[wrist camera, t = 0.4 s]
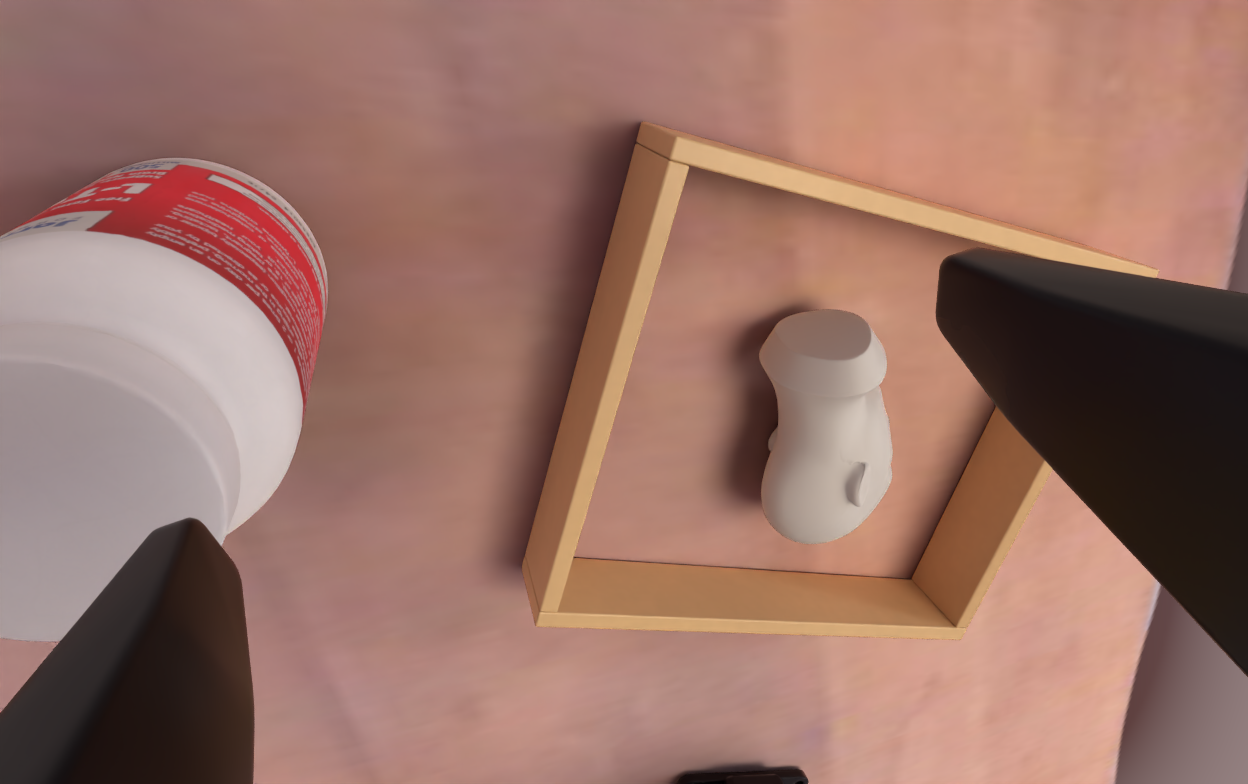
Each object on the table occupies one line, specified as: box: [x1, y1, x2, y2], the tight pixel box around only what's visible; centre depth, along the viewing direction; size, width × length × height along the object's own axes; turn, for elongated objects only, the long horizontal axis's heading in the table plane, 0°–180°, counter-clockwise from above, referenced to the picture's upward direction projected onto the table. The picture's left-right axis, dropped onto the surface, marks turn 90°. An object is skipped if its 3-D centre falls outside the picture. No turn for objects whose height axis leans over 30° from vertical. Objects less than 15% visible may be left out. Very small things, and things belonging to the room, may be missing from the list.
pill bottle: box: [0, 158, 328, 642], centre depth 15 cm, size 6×6×11 cm
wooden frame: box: [522, 121, 1159, 640], centre depth 26 cm, size 15×17×3 cm
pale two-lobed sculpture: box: [759, 309, 893, 544], centre depth 26 cm, size 4×8×5 cm
